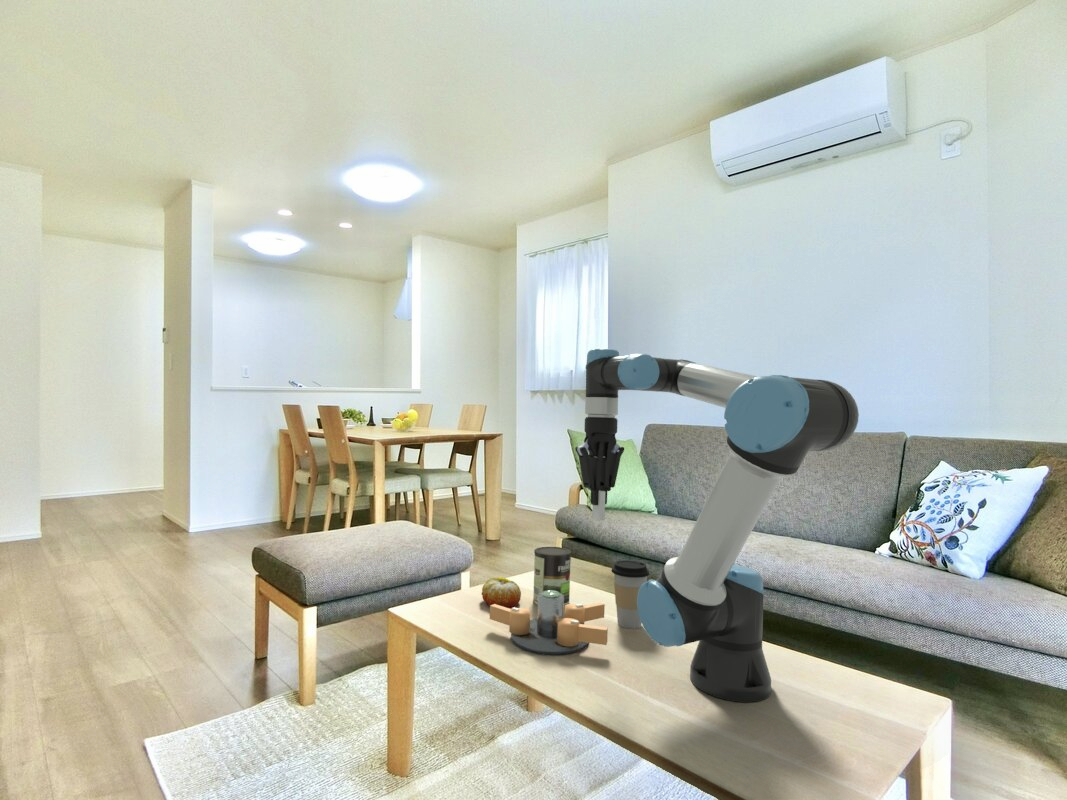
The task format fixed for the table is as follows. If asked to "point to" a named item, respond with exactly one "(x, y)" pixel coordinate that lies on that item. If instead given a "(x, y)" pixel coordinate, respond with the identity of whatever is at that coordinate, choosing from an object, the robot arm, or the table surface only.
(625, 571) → the coffee cup
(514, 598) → the fruit
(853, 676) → the table surface
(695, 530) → the robot arm
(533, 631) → the base
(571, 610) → the knob
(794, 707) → the table surface
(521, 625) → the knob
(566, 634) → the knob
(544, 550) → the coffee can
